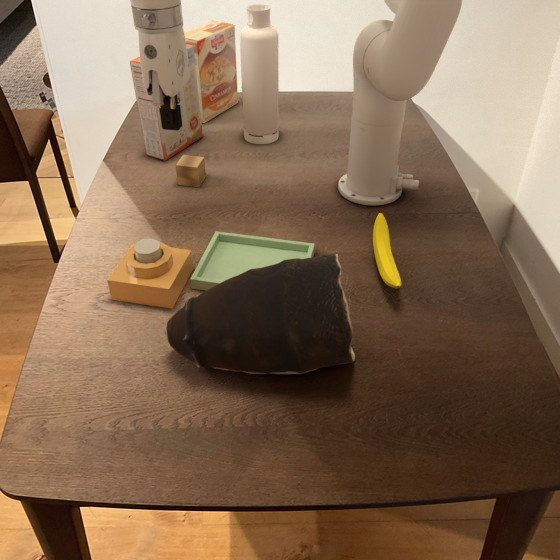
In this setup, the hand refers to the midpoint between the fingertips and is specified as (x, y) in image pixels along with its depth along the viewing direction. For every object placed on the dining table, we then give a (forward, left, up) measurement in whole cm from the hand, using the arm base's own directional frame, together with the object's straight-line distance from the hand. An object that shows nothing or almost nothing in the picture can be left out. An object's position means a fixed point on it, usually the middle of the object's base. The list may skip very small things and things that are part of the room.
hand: (172, 127), depth 101 cm
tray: (-18, +16, -16) cm, 29 cm away
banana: (-39, +12, -16) cm, 44 cm away
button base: (-3, +23, -16) cm, 28 cm away
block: (+2, -10, -16) cm, 19 cm away
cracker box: (+11, -24, -16) cm, 31 cm away
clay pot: (-24, +34, -16) cm, 45 cm away
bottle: (-7, -33, -16) cm, 38 cm away
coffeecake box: (+9, -45, -16) cm, 49 cm away
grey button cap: (-3, +23, -11) cm, 26 cm away
